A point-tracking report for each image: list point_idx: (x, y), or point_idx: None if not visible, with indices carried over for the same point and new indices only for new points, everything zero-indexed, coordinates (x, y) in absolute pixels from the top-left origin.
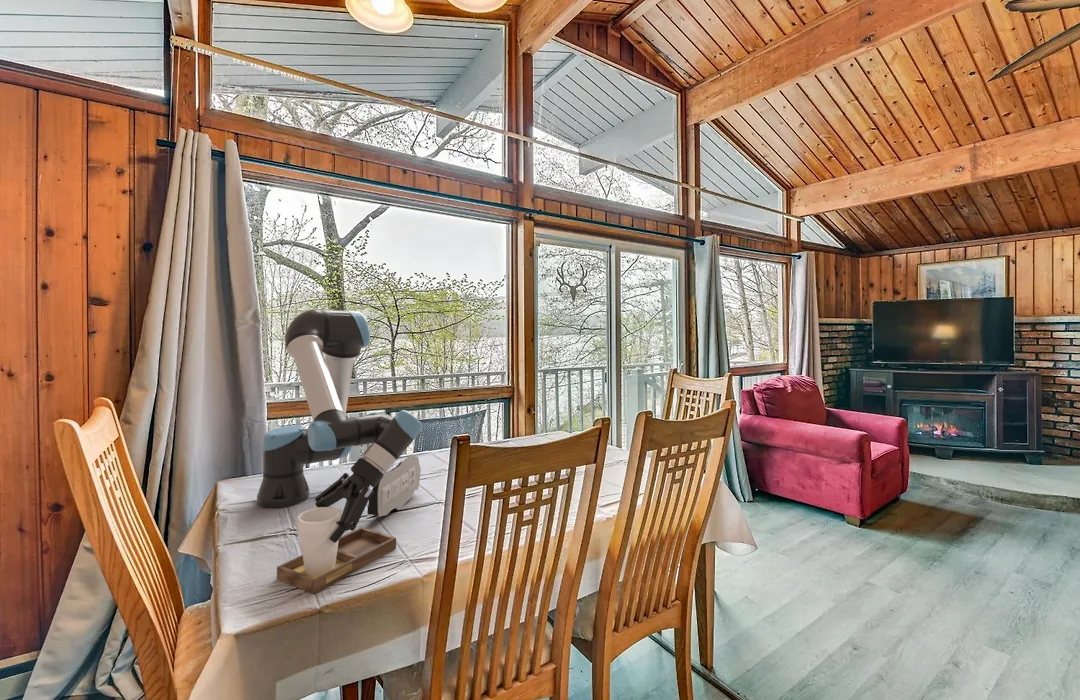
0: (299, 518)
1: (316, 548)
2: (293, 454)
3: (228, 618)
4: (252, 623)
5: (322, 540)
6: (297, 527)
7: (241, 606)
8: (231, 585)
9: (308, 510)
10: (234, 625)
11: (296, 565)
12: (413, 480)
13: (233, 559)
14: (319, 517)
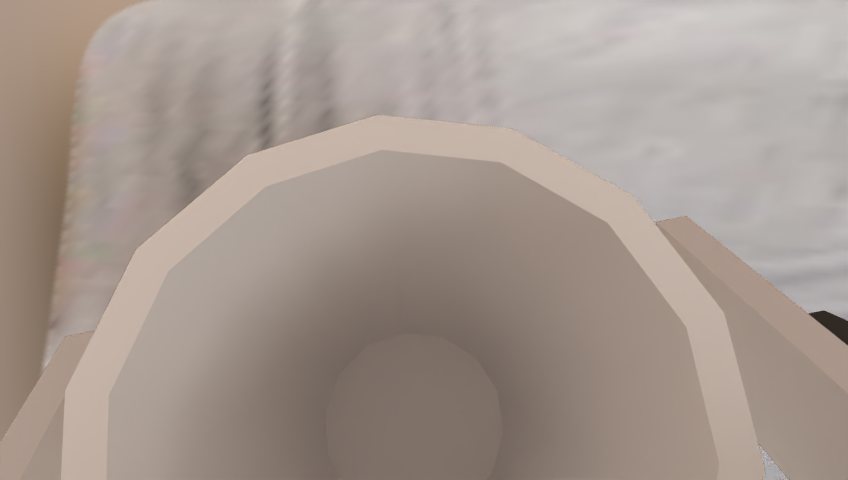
0: (405, 137)
1: (72, 347)
2: None
3: (200, 3)
4: (94, 83)
5: (43, 406)
6: (677, 229)
7: (273, 46)
8: (503, 9)
9: (681, 279)
10: (126, 23)
11: None
12: None
13: (797, 13)
14: (646, 445)
